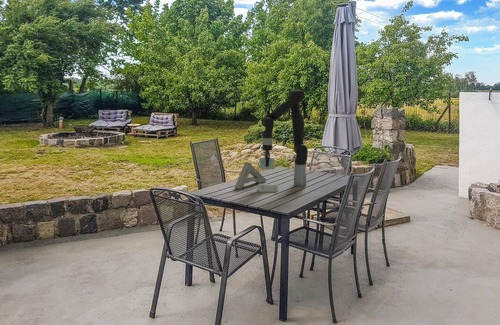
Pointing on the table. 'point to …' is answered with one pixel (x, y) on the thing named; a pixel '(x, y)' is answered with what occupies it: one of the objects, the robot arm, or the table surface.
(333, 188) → the table surface
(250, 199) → the table surface
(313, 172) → the table surface
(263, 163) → the tapered block
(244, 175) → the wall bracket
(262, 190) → the rail
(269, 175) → the table surface
